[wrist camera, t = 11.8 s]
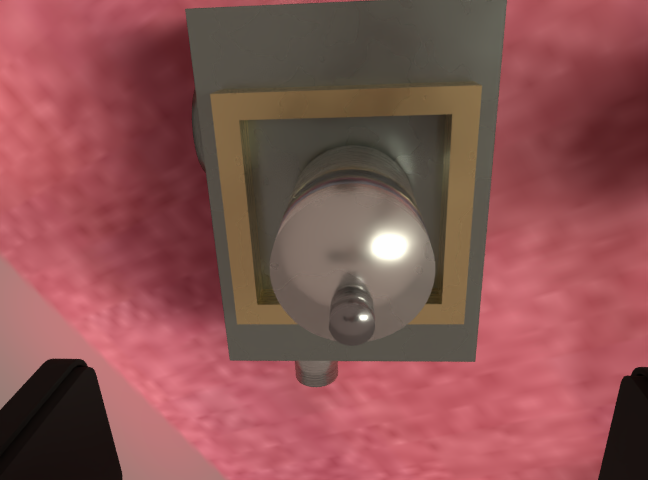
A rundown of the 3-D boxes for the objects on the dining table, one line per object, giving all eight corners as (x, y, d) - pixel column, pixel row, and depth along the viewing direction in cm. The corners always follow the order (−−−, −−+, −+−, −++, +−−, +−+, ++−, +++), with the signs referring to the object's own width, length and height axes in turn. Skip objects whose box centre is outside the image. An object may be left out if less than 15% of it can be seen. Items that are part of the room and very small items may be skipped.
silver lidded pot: (288, 145, 21) (255, 207, 14) (416, 143, 21) (447, 205, 14) (294, 260, 23) (269, 364, 16) (411, 260, 23) (437, 365, 16)
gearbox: (211, 13, 25) (155, 8, 18) (473, 2, 24) (519, -8, 17) (247, 343, 32) (217, 429, 25) (450, 343, 32) (477, 432, 25)
